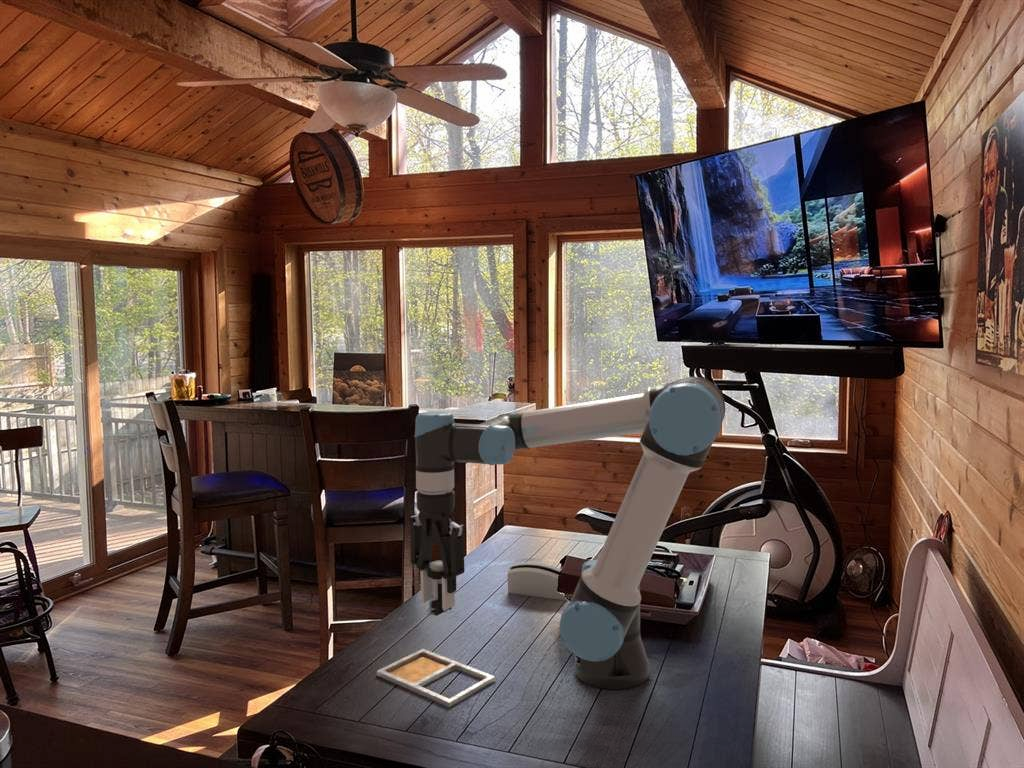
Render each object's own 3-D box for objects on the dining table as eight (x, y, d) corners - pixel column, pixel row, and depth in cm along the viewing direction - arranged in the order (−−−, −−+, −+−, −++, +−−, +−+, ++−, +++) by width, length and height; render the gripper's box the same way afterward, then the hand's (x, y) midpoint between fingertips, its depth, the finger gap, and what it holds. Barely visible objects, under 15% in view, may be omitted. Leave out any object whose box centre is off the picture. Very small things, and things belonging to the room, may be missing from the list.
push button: (437, 621, 149) (437, 571, 148) (416, 615, 152) (416, 566, 151) (458, 609, 155) (458, 561, 154) (438, 604, 158) (437, 557, 156)
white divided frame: (495, 681, 154) (494, 676, 154) (449, 707, 144) (449, 702, 144) (423, 653, 168) (422, 648, 168) (376, 675, 158) (376, 670, 158)
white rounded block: (573, 593, 201) (568, 562, 197) (568, 605, 197) (563, 574, 193) (514, 586, 207) (508, 556, 203) (508, 597, 203) (502, 567, 199)
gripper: (483, 493, 148) (484, 609, 150) (417, 480, 160) (419, 588, 162) (456, 501, 142) (458, 621, 145) (389, 487, 154) (392, 598, 156)
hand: (437, 603), depth 153 cm, fingers closed on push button, 5 cm apart
